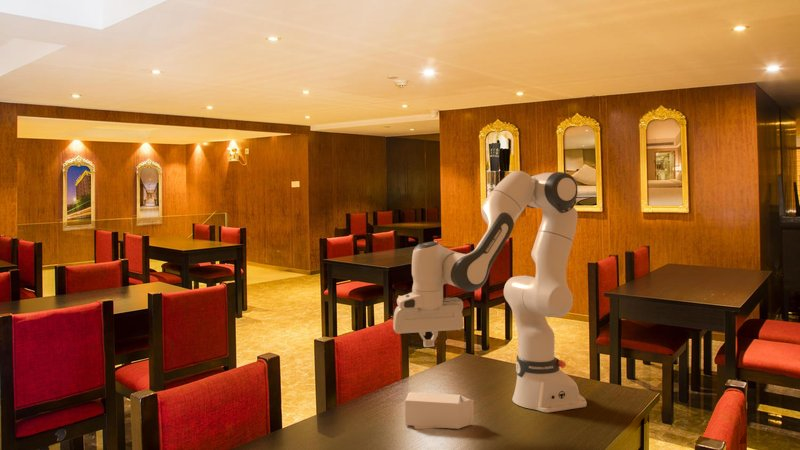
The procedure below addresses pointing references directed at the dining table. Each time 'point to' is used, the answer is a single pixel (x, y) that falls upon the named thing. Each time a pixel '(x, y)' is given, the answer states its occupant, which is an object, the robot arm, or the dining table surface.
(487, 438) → the dining table surface
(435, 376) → the dining table surface
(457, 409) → the milk carton
